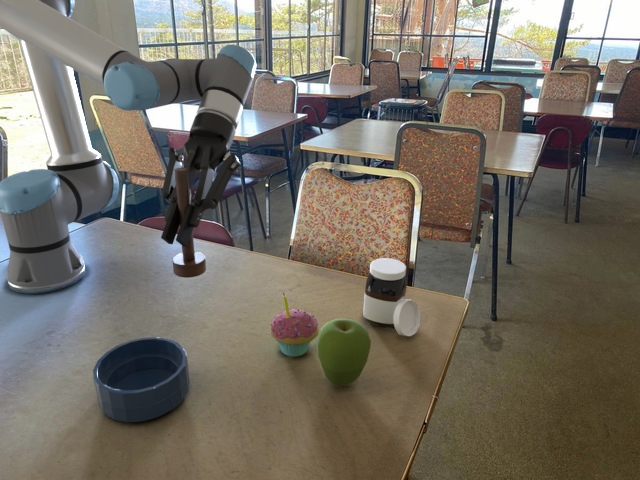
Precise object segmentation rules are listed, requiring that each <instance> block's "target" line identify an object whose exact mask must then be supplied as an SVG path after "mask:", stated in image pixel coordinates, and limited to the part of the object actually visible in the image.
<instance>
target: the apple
mask: <svg viewBox="0 0 640 480" xmlns="http://www.w3.org/2000/svg"><path fill="white" fill-rule="evenodd" d="M315 343H316V350H317V356H318V359H319V362H320V364H321V367H322V371H323V373H324V376H325V378H326V379H327V380H328V381H329V382H330V383H332V384H333V385H334V386H336V387H345V386H348V385H351V384H353V382H355V381H357V380H358V379H359V378H360V376H361V374H362V372H363V370H364V368H365V366H366V364H367V363H368V359H369V356H370V351H371V346H372V340H371V337H370V333H369V331H368V330H367V328H366V327H365V326H363V325H362V324H361V323H360V322H358V321H357V320H354V319H351V318H335V319H332V320H330V321H328V322H326V323H325V324H324V325H323V326H322V327H321V328H320V331H319V332H318V336H317V338H316V342H315Z"/></svg>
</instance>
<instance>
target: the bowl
mask: <svg viewBox="0 0 640 480" xmlns="http://www.w3.org/2000/svg"><path fill="white" fill-rule="evenodd" d="M92 374H93V376H92V377H93V379H92V380H93V383H94V389H95V393H96V397H97V403H98V407H99V408H100V410H101V411H102V413H103V414H104V415H105V416H107V417H109V418H110V419H112V420H114V421H119V422H125V423H136V422H137V423H138V422H146V421H148V420H153V419H157V418H158V417H161V416H163V415H165V414H166V413H169V412H170V411H172V410H174V409H175V408H176V407H178V405H180V404H181V403H182V402H183V401H184V399H185V397H186V396H187V394H188V393H189V389H190V384H191V382H190V372H189V364H188V354H187V351H186V349H185V348H184V347H183V346H182V345H181V344H180V343H179V342H177V341H174V340H172V339H170V338H166V337H159V336H151V337H150V336H148V337H139V338H135V339H131V340H127V341H126V342H123V343H119V344H118V345H116V346H114V347H112V348H110V349H109V350H107V351H106V352H105V353H103V355H102V356H101V357H100V358H99V359H98V360H97V361H96V363H95V365H94V367H93V369H92Z"/></svg>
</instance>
